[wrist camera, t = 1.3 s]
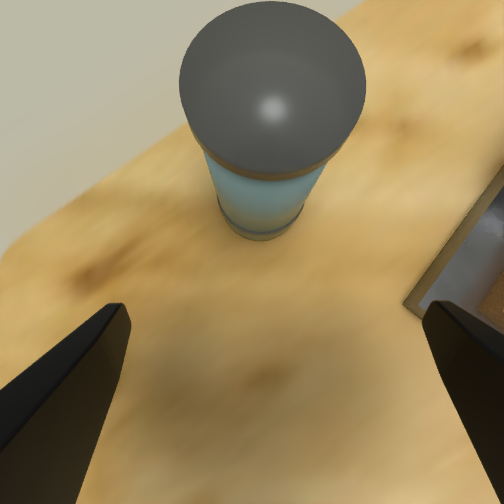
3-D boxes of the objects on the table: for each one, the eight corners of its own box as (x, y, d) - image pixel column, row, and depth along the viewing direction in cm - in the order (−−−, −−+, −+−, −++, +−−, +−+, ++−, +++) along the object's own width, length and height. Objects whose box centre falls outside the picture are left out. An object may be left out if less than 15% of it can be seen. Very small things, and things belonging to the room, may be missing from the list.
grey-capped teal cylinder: (301, 243, 22) (373, 168, 9) (219, 243, 22) (176, 169, 9) (298, 165, 23) (359, 0, 10) (220, 166, 23) (181, 1, 10)
